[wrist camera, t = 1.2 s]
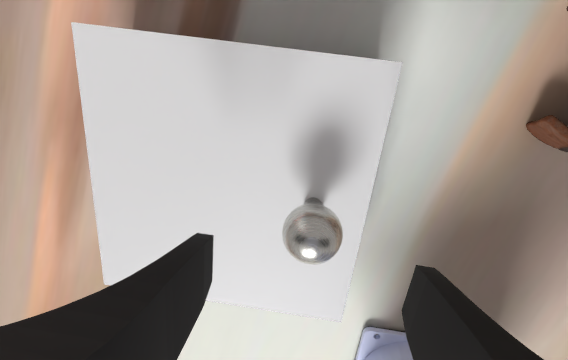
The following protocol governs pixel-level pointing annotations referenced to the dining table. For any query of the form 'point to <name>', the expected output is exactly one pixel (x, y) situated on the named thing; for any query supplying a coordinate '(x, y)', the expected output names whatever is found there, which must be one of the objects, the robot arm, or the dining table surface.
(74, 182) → the dining table surface
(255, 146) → the lid
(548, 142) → the brown jagged hollow piece
